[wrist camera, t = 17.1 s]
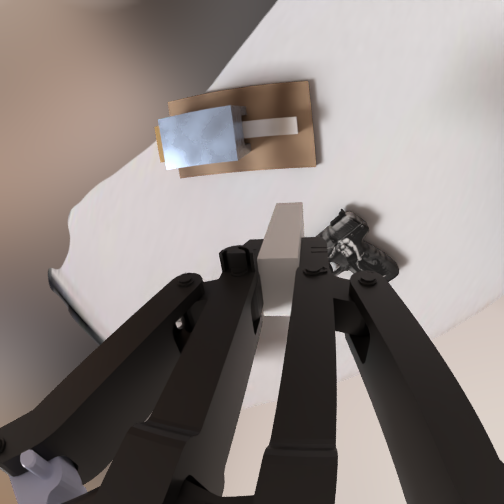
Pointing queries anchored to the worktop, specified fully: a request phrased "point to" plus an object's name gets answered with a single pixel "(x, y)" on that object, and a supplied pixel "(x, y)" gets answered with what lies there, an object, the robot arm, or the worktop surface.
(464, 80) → the worktop surface
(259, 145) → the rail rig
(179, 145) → the slate grey block
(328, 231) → the handgun
